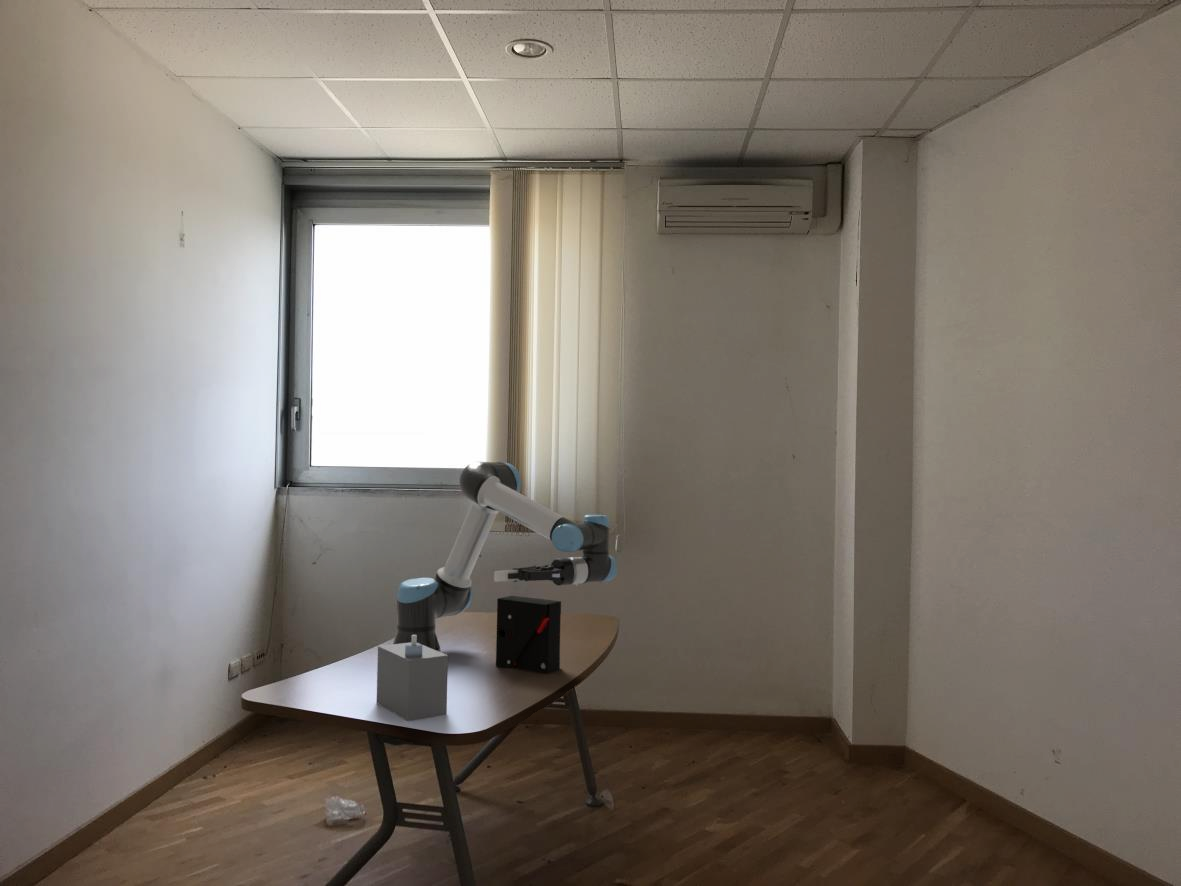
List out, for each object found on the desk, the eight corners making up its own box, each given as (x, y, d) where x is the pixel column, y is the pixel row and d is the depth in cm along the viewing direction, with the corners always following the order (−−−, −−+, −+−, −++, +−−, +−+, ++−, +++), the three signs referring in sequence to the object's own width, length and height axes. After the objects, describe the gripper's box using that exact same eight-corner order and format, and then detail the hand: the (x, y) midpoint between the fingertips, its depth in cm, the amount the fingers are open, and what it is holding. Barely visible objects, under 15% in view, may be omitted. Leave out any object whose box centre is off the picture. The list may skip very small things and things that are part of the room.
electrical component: (563, 668, 255) (564, 600, 256) (544, 675, 247) (545, 604, 247) (514, 660, 264) (516, 594, 265) (494, 667, 256) (496, 598, 256)
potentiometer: (402, 654, 207) (402, 634, 207) (417, 653, 209) (418, 633, 209) (409, 658, 204) (410, 637, 204) (425, 656, 206) (425, 635, 206)
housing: (376, 702, 216) (378, 646, 216) (413, 696, 222) (415, 641, 222) (407, 721, 201) (409, 660, 202) (446, 714, 207) (447, 655, 208)
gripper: (581, 587, 239) (508, 593, 225) (554, 581, 250) (482, 587, 236) (582, 560, 239) (508, 564, 225) (555, 555, 250) (483, 559, 236)
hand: (495, 576), depth 230 cm, fingers closed
